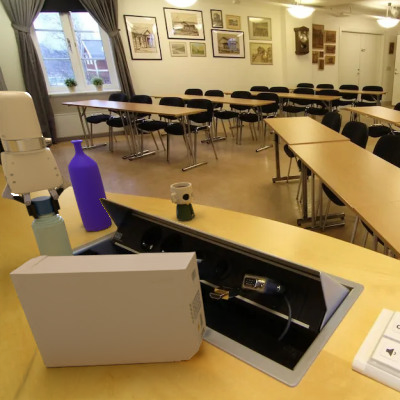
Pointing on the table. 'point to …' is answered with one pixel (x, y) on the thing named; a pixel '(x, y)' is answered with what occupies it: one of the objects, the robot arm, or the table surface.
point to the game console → (112, 307)
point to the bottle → (88, 190)
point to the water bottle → (51, 235)
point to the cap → (43, 205)
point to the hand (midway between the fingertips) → (45, 214)
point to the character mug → (183, 200)
